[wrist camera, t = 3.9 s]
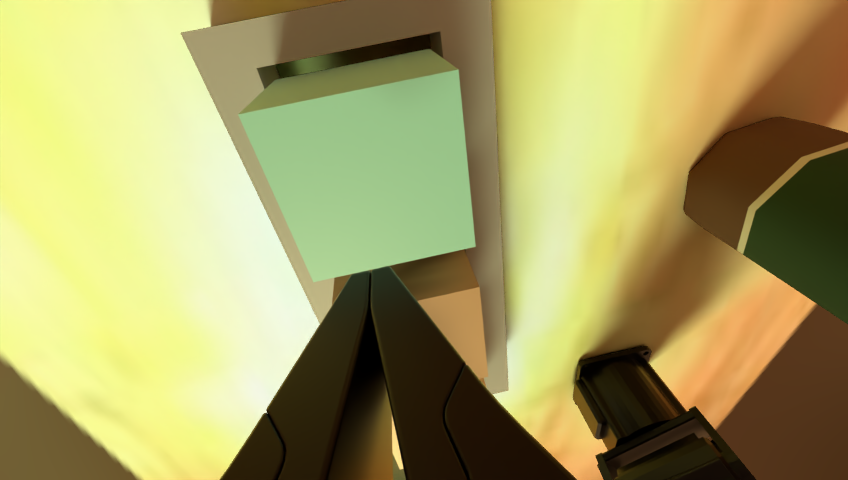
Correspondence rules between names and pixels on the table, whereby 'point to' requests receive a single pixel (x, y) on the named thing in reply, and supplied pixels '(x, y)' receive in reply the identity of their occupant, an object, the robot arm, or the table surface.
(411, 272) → the tan block
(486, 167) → the grey rectangular tray
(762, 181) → the beer bottle
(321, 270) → the green block
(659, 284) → the table surface
